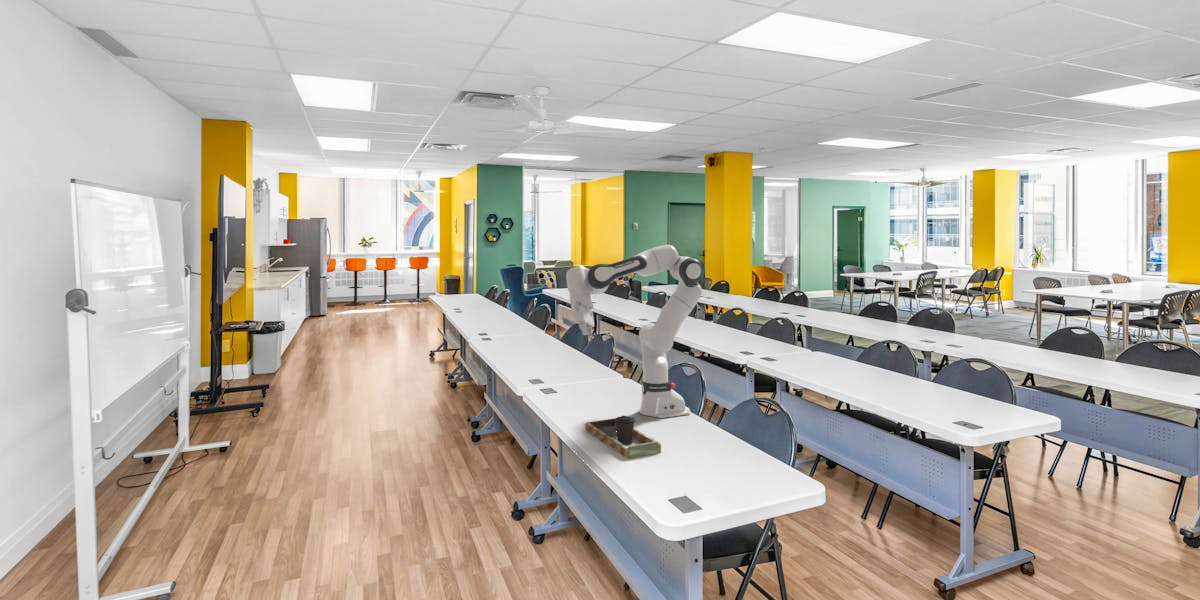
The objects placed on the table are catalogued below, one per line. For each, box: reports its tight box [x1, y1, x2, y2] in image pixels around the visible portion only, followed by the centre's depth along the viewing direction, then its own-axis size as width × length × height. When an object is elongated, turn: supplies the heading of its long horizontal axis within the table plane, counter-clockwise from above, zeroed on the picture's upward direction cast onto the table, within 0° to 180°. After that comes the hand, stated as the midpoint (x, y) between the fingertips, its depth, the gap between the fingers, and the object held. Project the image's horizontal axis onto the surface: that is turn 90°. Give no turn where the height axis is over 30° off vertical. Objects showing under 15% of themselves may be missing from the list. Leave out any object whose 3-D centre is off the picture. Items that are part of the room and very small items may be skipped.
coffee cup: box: [614, 415, 636, 446], centre depth 241 cm, size 8×8×10 cm
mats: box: [599, 426, 617, 439], centre depth 253 cm, size 11×10×1 cm
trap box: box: [585, 417, 662, 459], centre depth 244 cm, size 36×14×4 cm, turn 25°
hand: (587, 336), depth 262 cm, fingers open, 8 cm apart
